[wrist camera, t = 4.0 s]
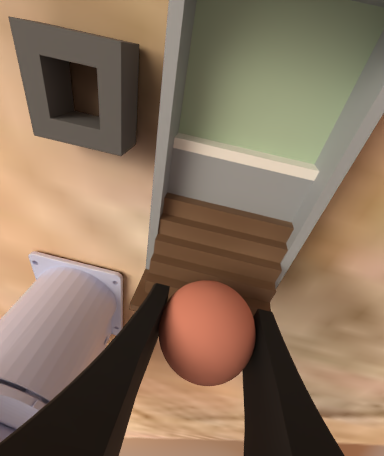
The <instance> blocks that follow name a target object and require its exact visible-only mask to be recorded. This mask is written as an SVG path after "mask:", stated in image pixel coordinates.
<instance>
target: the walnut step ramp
mask: <svg viewBox="0 0 384 456" xmlns="http://www.w3.org/2000/svg"><path fill="white" fill-rule="evenodd" d="M293 230H294V227H293V224H292V222H288V221H284V220H280V219H275V218H271V217H267V216H263V215H259V214H255V213H251V212H246V211H242V210H238V209H234V208H230V207H226V206H222V205H217V204H213V203H209V202H205V201H201V200H197V199H193V198H188V197H184V196H180V195H176V194H172V193H168V192H167V194H166V196H165V198H164V206H163V213H162V215H161V217H160V220H159V229H158V234H157V236H156V238H155V243H154V253H153V255H152V257H151V260H150V267H149V270H148V269H145V271H144V274H143V276H142V278H141V280H140V282H139V285H138V287H137V289H136V291H135V294H134V296H133V298H132V300H131V303H130V310H133V311H137V310H138V308H139V307H140V305H141V304H142V303H143V301H144V300H145V298H146V297H147V295H148V294H149V292H150V290H151V289H152V287H153V285H154V284H155V283H159V284H163V285H167V286H170V289H169V295H168V300H169V299H170V297H171V296H172V295H173V294H174V293H175V292H176V291H177V290H179V289H180V288H182V287H183V286H185V285H187V284H189V283H192V282H195V281H201V280H210V281H217V282H220V283H223V284H225V285H227V286H229V287H231V288H232V289H234V290H235V291H236V292H237V293H238V294H239V295H240V296H241V297H242V298H243V299H244V300H245V302H246V303H247V305H248V306H249V308H250V310H251V313H252V315H253V316H254V314H255V313H256V311H257V309H262V310H266V311H270V312H271V309H270V301H271V299H272V298H273V296H274V294H275V293H276V288H275V282H276V280H277V279H278V277H279V275H280V274H281V272H282V269H281V264H280V263H281V261H282V260H283V258H284V256H285V254H286V253H287V251H288V249H287V245H286V242H287V241H288V239H289V237H290V235H291V233H292V232H293ZM168 300H167V302H168Z"/></svg>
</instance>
